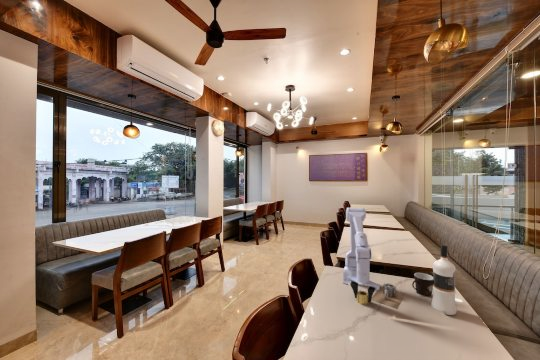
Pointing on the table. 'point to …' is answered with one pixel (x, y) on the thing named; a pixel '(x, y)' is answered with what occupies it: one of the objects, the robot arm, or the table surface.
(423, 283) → the coffee mug
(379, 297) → the board
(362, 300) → the brass gear
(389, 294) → the steel gear
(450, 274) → the vodka
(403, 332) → the table surface
